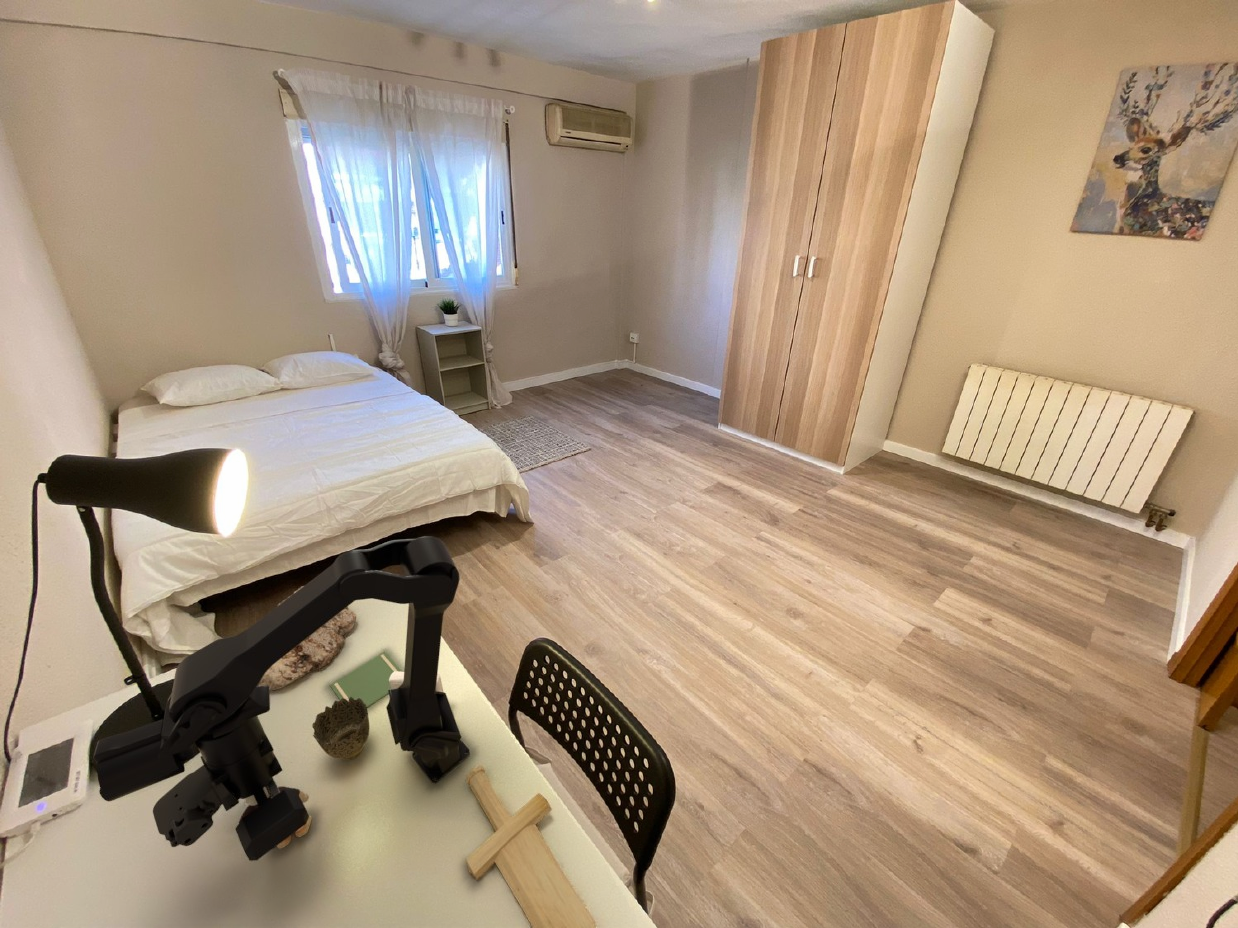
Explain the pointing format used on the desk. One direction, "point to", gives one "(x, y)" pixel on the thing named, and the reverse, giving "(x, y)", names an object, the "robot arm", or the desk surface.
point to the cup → (342, 728)
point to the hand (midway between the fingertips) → (270, 816)
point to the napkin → (367, 680)
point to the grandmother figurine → (254, 805)
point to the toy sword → (525, 860)
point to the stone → (310, 651)
